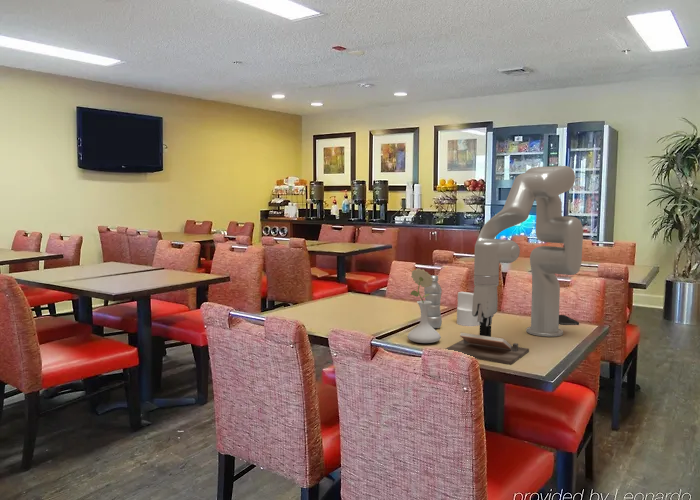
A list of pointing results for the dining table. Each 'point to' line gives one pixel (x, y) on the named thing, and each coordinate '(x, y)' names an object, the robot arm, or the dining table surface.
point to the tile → (486, 340)
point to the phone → (567, 320)
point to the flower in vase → (423, 311)
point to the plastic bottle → (434, 302)
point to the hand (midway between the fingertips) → (485, 337)
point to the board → (490, 352)
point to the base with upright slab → (466, 310)
